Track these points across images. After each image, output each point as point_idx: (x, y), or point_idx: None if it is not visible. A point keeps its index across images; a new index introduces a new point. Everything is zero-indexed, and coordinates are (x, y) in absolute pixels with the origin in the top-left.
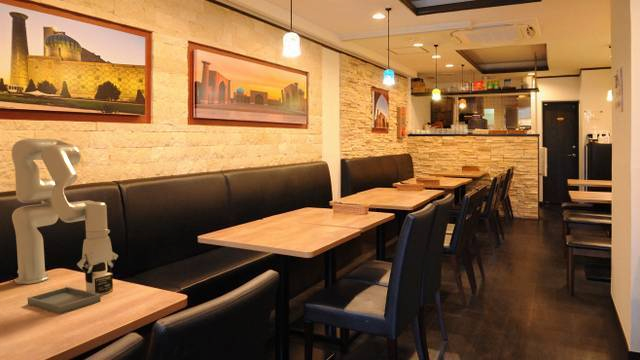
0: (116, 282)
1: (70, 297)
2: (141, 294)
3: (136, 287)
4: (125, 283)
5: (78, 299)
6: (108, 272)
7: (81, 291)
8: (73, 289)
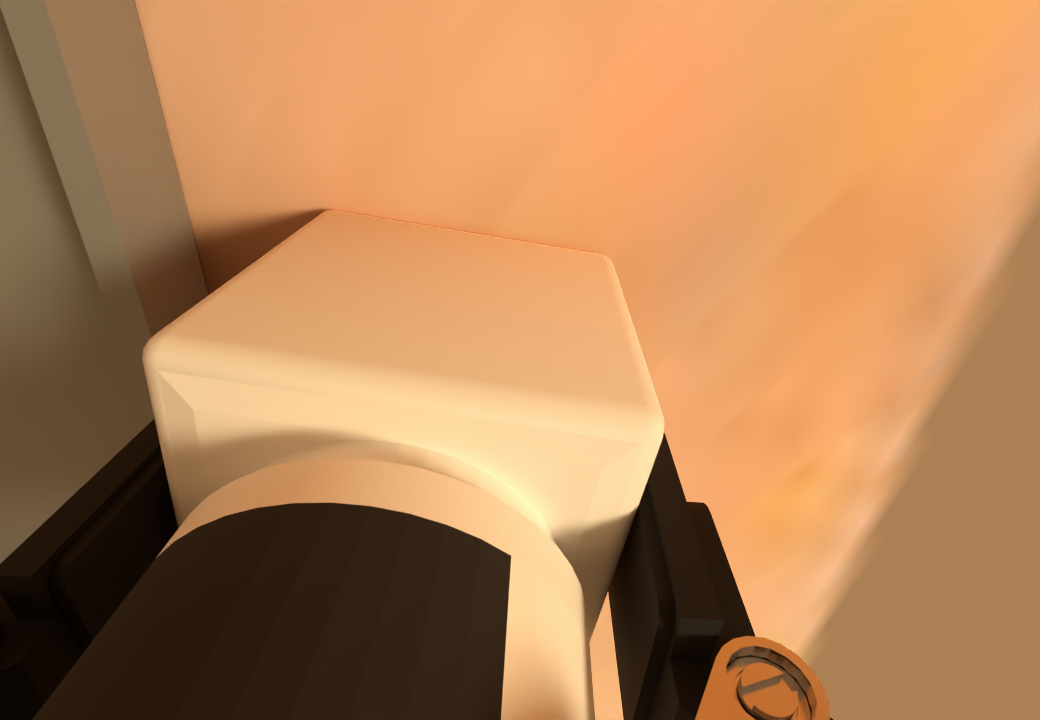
0: (963, 165)
1: (18, 295)
2: (601, 708)
3: (777, 567)
4: (921, 347)
5: (86, 448)
6: (589, 628)
7: (137, 377)
8: (58, 156)
